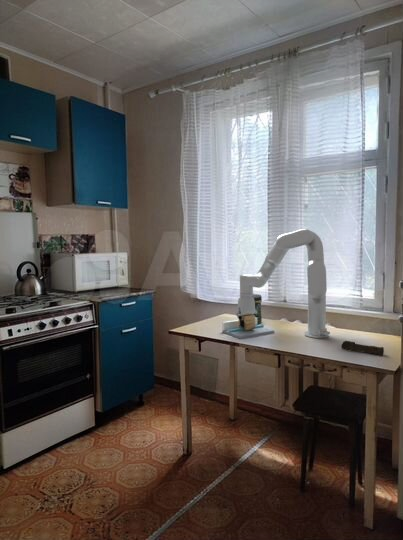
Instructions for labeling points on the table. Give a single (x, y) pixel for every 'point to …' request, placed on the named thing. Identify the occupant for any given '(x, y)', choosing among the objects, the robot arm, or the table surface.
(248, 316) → the oak block
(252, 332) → the cleat board
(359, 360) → the table surface
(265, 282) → the robot arm
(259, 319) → the coffee jar
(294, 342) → the table surface
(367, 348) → the hand tool
